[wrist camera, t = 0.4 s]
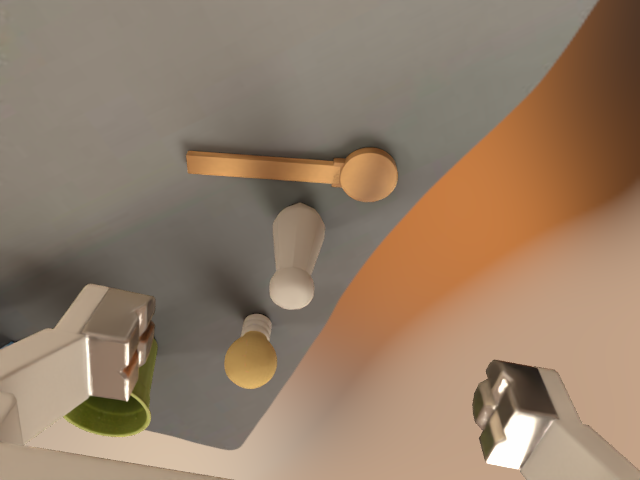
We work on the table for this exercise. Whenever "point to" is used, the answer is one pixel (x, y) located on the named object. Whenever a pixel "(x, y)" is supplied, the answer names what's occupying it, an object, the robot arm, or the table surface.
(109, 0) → the table surface
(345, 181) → the wooden spoon
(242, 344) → the light bulb
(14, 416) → the robot arm
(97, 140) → the table surface
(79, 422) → the plant pot
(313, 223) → the salt shaker
